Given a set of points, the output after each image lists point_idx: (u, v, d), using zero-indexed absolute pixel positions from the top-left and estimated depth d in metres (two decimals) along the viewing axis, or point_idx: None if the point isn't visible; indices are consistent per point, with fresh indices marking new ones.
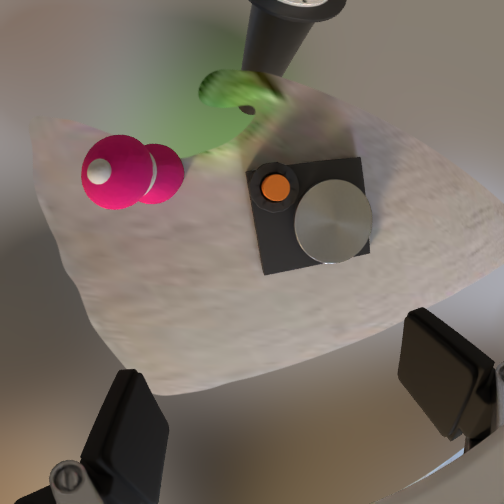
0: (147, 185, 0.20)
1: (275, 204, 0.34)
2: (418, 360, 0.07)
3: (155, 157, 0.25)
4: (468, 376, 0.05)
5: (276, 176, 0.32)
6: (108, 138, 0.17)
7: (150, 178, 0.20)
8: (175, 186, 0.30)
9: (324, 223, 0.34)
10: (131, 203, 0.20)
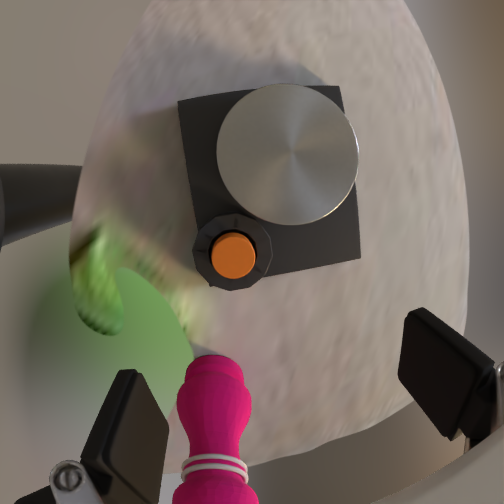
0: (232, 495, 0.12)
1: (260, 252, 0.22)
2: (418, 360, 0.07)
3: (194, 431, 0.18)
4: (468, 376, 0.05)
5: (214, 259, 0.20)
6: None
7: (224, 491, 0.12)
8: (231, 391, 0.22)
9: (293, 172, 0.20)
10: None
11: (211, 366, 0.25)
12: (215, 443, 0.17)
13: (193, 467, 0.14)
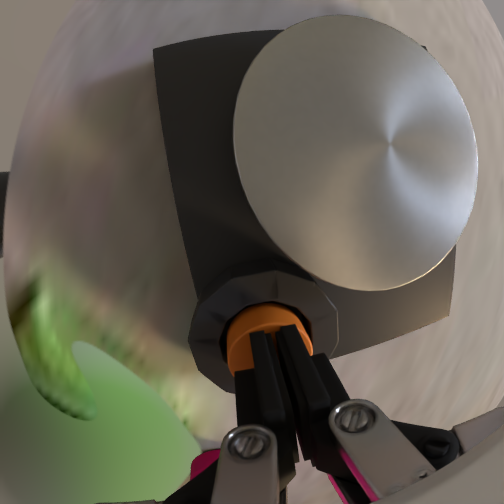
0: None
1: (317, 338, 0.11)
2: (284, 377, 0.08)
3: None
4: None
5: (234, 363, 0.10)
6: None
7: None
8: None
9: (393, 186, 0.09)
10: None
11: None
12: None
13: None
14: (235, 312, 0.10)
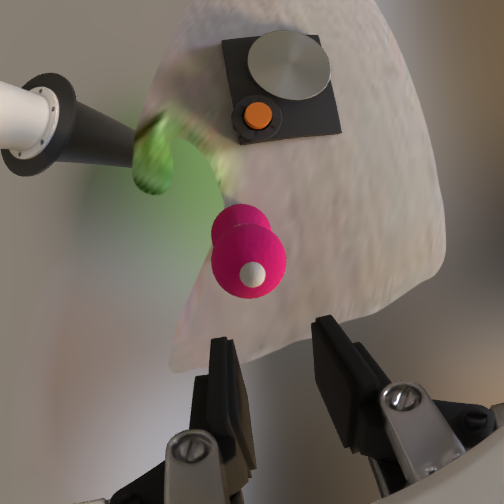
0: (265, 228, 0.22)
1: (274, 116, 0.32)
2: (322, 367, 0.08)
3: (229, 228, 0.28)
4: None
5: (246, 114, 0.30)
6: (216, 268, 0.21)
7: (258, 225, 0.22)
8: (256, 210, 0.32)
9: (292, 72, 0.29)
10: (282, 245, 0.22)
11: None
12: None
13: None
14: (247, 105, 0.31)
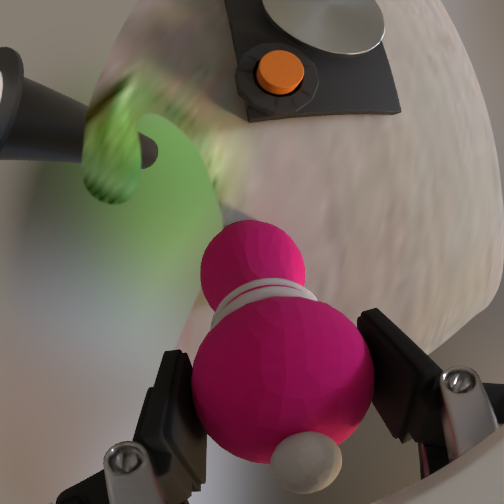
0: (333, 313, 0.08)
1: (306, 76, 0.17)
2: None
3: (232, 275, 0.14)
4: (410, 379, 0.06)
5: (262, 67, 0.16)
6: (203, 421, 0.07)
7: (314, 305, 0.08)
8: (281, 234, 0.18)
9: (331, 16, 0.15)
10: (368, 350, 0.08)
11: None
12: None
13: (238, 299, 0.10)
14: (261, 57, 0.17)
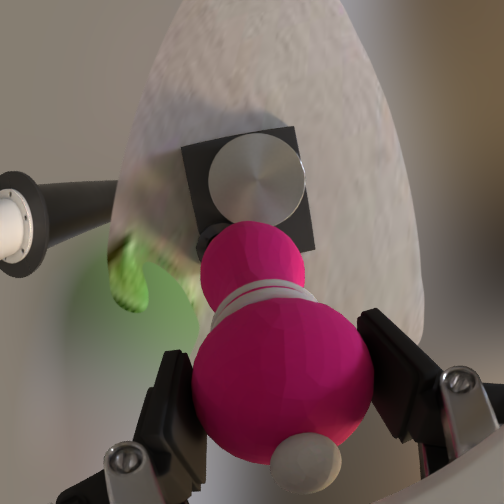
0: (333, 315, 0.08)
1: None
2: None
3: (232, 276, 0.14)
4: (410, 379, 0.06)
5: None
6: (203, 422, 0.07)
7: (314, 306, 0.08)
8: (281, 235, 0.18)
9: (259, 194, 0.31)
10: (368, 351, 0.08)
11: None
12: None
13: (238, 300, 0.10)
14: (211, 236, 0.33)
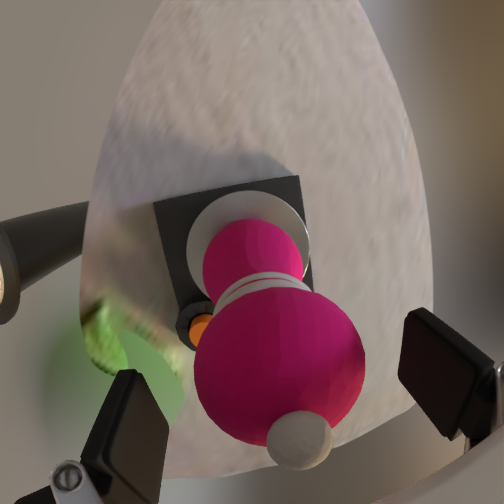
0: (325, 302, 0.08)
1: None
2: (418, 360, 0.07)
3: (232, 270, 0.15)
4: (468, 376, 0.05)
5: (191, 336, 0.25)
6: (205, 402, 0.08)
7: (308, 294, 0.09)
8: (279, 232, 0.18)
9: None
10: (359, 337, 0.09)
11: None
12: None
13: (238, 290, 0.11)
14: (193, 316, 0.26)
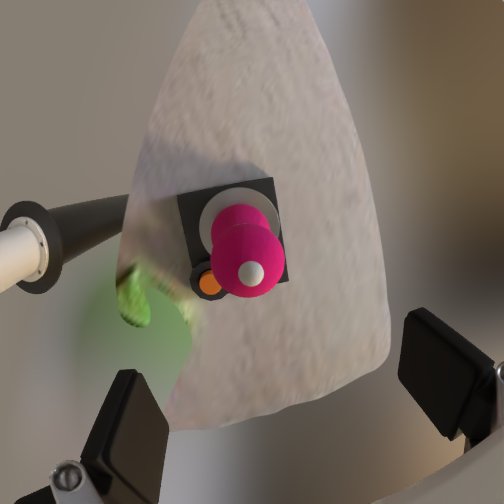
0: (263, 227, 0.22)
1: None
2: (418, 360, 0.07)
3: (228, 227, 0.28)
4: (468, 376, 0.05)
5: (200, 285, 0.39)
6: (215, 267, 0.21)
7: (257, 225, 0.22)
8: (255, 210, 0.32)
9: None
10: (280, 244, 0.22)
11: None
12: None
13: None
14: (202, 271, 0.40)
